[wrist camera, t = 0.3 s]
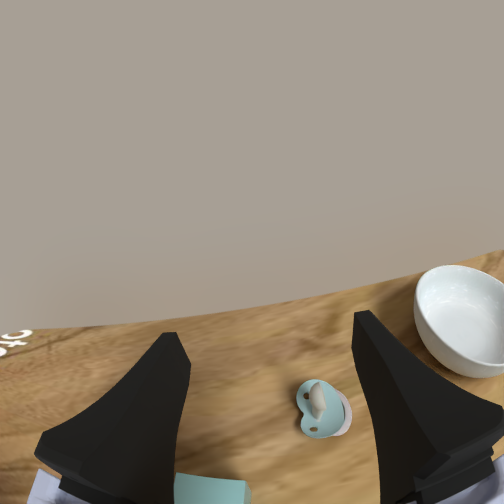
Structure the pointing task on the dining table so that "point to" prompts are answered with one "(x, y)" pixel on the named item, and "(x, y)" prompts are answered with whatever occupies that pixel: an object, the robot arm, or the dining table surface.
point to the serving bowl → (462, 319)
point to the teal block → (209, 490)
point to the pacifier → (323, 409)
